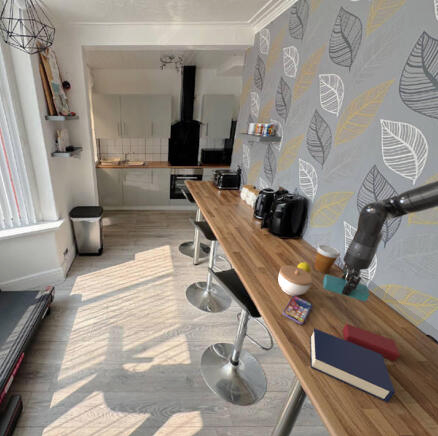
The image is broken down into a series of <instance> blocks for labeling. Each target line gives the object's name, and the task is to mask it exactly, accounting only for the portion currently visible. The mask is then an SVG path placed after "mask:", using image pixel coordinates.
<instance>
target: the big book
mask: <svg viewBox="0 0 438 436" xmlns="http://www.w3.org/2000/svg"><path fill="white" fill-rule="evenodd" d="M309 350H310V368H311V369H313V370H316V371H317V372H319V373H321V374H324V375H325V376H326V375H327V376H329V377H330V378H333V379H335V380H337V381H339V382H341V383H344V384H346V385H348V386H350V387H352V388H354V389H357V390H359V391H361V392H363V393H365V394H368V395H370V396H372V397H374V398H377V399H379V400H380V401H383V402H385V403H389V402H390V400H391V399H392V398H393V397H394V395H395V394H396V392H395V391H396V390H395V388H394V385H393V383H392V379H391V376H390V374H389V370H388V368H387V365H386V361H385V358H384V357H383V355H382V354H379V353H377V352H374V351H371V350H369V349H366V348H364V347H361V346H359V345H356V344H353V343H351V342H348V341H346V340H344V338H341V337H338V336H335V335H332V334H330V333H327V332H325V331H322V330H320V329H317V328H315V327H314V328H313V332H312V335H311V336H309Z"/></svg>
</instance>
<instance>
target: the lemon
mask: <svg viewBox="0 0 438 436" xmlns="http://www.w3.org/2000/svg"><path fill="white" fill-rule="evenodd" d="M296 267H298V268H301V269H303V270H305V271H307V272H308V273H309V274H310V273H311V266H310V264H309V263H307V262H304V261H303V262H300V263H298V264H297V266H296Z"/></svg>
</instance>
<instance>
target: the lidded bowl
mask: <svg viewBox="0 0 438 436" xmlns="http://www.w3.org/2000/svg"><path fill="white" fill-rule="evenodd" d="M277 281H278V285H279V286H280V288H281V290H282V291H283V293H286V294H287V295H289V296H292V297H293V296H298V297H299V296H302V295H304V294H305V293H307V292H308V291H309V290H310V288H311V286H312V284H313V283H314V278H313V276H312V274H310V273H308V272H307V271H305V270H303V269H301V268H298V267H297V266H294V265H283V266H281V267H280V269H279V273H278V278H277Z"/></svg>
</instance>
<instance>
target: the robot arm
mask: <svg viewBox="0 0 438 436" xmlns="http://www.w3.org/2000/svg"><path fill="white" fill-rule="evenodd" d="M434 208H438V180H435V181H431V182H428V183H426V184H423V185H420V186H417V187H414V188H411V189H408V190H406V191H403V192H401V193H399V194H398V195H395V196H391V197H388V198H385V199H381V200H378V201H377V200H376V201H372V202H369V203H367V204H366V205H364V206H363V207H362V209H361V211H360V213H359V216H358V221H357V229H356V231H355V232H354V236H353V238H352V240H351V241H350V243H349V244H348V247H347V249H346V252H345V254H344V257H343V262H344V266H343V268H342V270H341V272H342V273H341V275H342V276H341V279H344V280H346V283H345V286H344V288H343V290H342V294H343V295H342V294H341V295H342V296H345V295H347V296H346V297H348V296H349V294H350V292H351V290H352V289H353V290H355V289H356V287H357V285H358V284H360V282H361V281H362V277H361V273H362V272H361V271H363V270H368V269H369V268H370V267H371V264H372V262H373V261H374V258H375V257H376V254H377V253H378V248H379V246H380V244H381V241H382V240H383V237H384V231H383V227H384V224H385V223H386V222H387V221H390V220H395V219H396V218H400V217H403V216H406V215H409V214H415V213H419V212H423V211H428V210H430V209H434ZM350 284H352V285H350Z"/></svg>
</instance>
